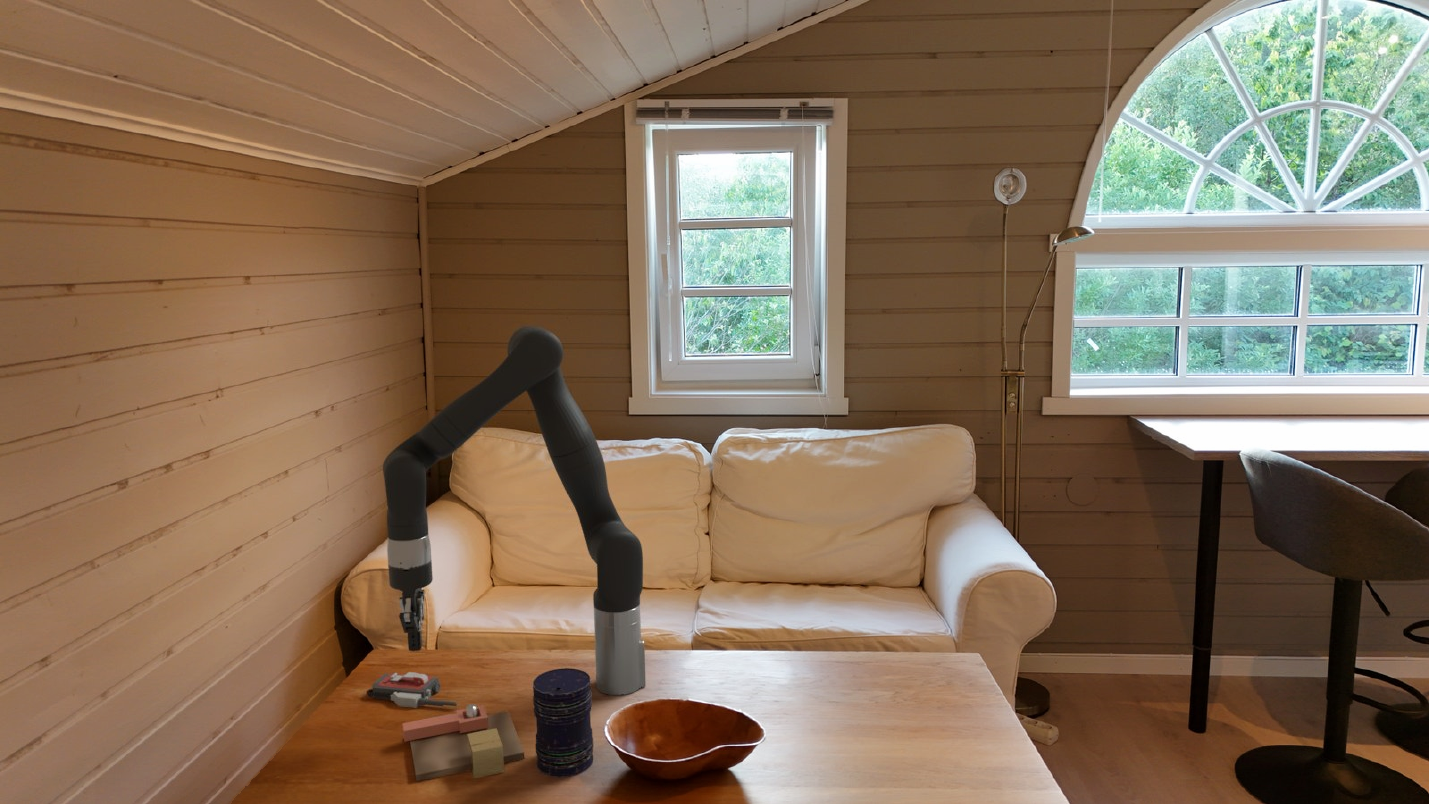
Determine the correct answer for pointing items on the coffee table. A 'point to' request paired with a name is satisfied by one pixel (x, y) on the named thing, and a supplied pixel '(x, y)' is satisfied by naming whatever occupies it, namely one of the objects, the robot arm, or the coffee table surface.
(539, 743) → the storage jar
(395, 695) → the walkie-talkie
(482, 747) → the block
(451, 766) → the board
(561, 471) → the robot arm
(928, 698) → the coffee table surface
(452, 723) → the link
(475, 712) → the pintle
